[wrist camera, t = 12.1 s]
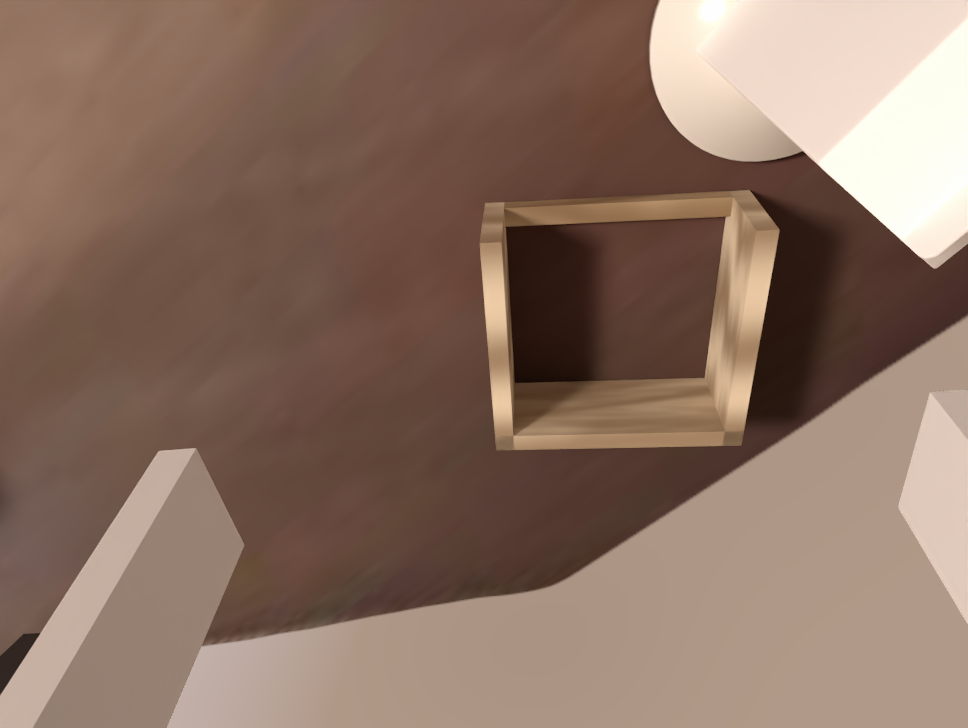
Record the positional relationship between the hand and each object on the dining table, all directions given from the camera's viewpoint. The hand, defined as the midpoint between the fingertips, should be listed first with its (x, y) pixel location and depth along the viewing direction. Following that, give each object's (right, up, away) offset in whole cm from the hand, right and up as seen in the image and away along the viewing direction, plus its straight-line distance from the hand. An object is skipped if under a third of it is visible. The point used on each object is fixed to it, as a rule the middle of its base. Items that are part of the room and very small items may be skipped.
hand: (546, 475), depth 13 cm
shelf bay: (+7, +6, +34) cm, 35 cm away
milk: (+14, +19, +23) cm, 34 cm away
